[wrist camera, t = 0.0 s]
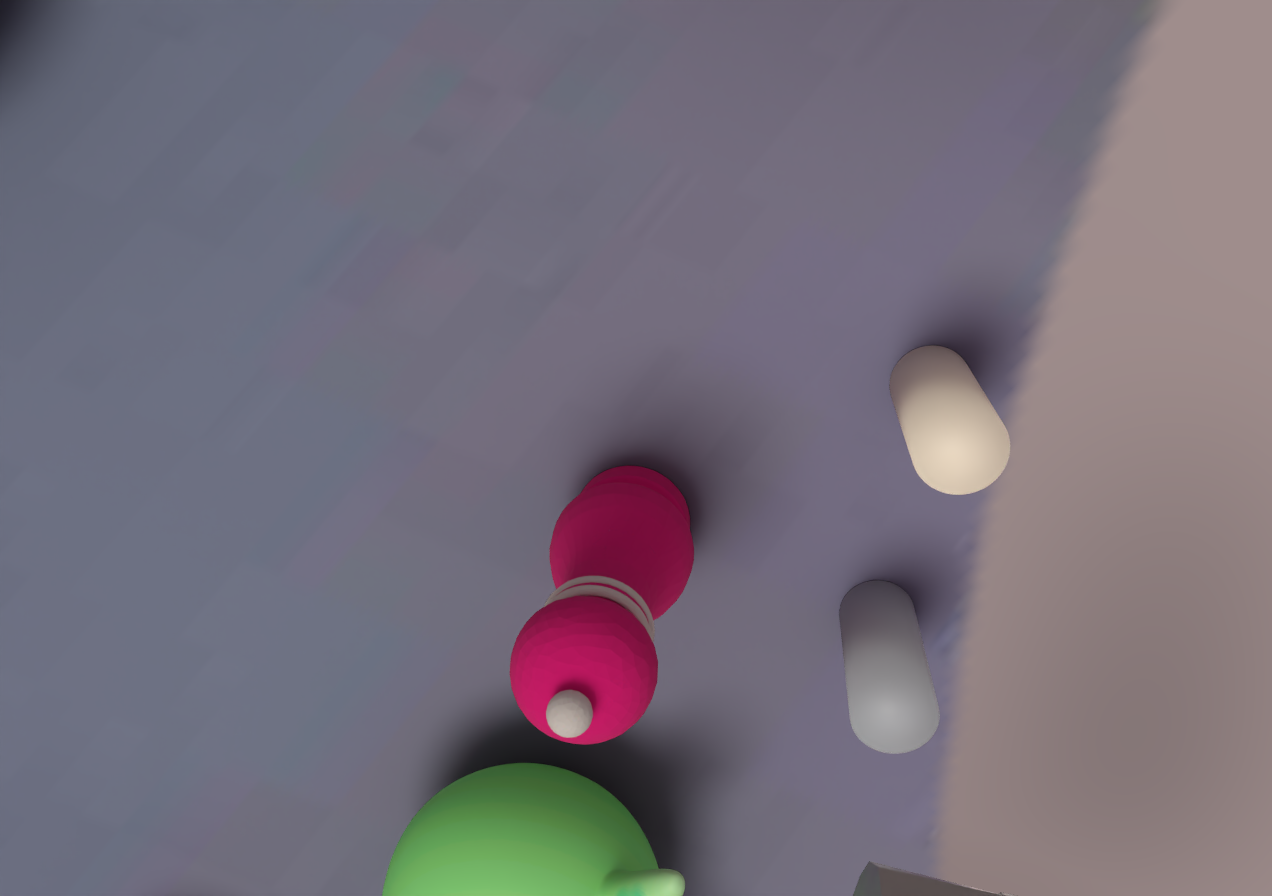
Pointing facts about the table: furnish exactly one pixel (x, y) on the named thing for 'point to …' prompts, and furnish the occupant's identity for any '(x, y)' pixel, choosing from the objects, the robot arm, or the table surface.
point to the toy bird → (526, 840)
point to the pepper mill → (604, 607)
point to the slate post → (886, 669)
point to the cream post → (948, 421)
